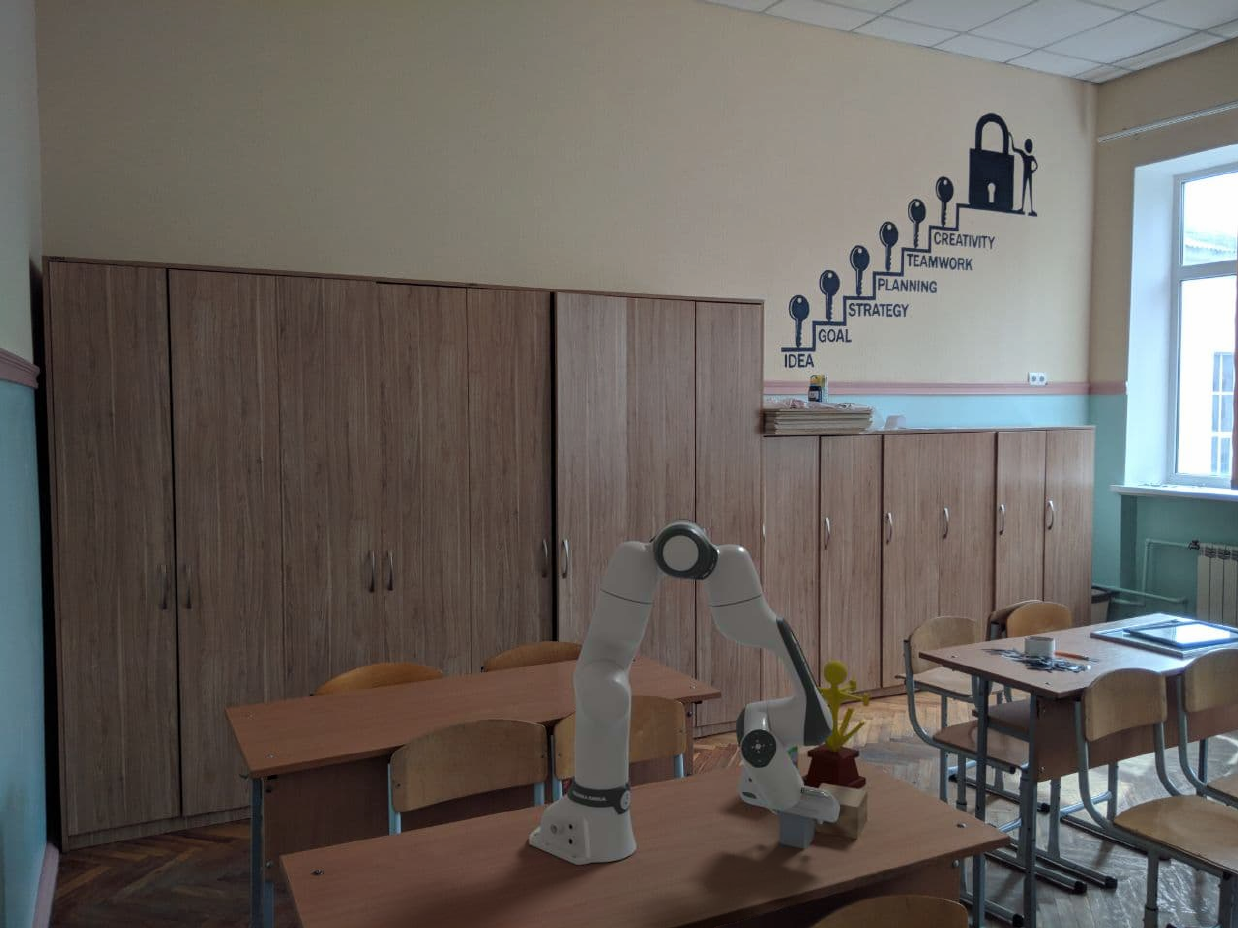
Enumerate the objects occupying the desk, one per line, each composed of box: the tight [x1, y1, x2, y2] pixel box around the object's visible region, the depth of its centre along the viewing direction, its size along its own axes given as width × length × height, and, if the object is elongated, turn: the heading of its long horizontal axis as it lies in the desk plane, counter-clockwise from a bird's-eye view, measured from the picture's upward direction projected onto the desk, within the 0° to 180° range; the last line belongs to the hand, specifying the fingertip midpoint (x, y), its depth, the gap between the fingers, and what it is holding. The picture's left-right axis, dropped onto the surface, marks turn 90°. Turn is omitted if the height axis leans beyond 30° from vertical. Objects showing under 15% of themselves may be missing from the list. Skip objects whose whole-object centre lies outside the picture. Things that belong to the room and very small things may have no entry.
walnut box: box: [814, 783, 868, 840], centre depth 212 cm, size 10×10×7 cm
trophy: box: [801, 660, 870, 789], centre depth 236 cm, size 14×16×30 cm
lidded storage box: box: [778, 811, 815, 850], centre depth 205 cm, size 6×6×9 cm
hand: (798, 815), depth 205 cm, fingers open, 8 cm apart
